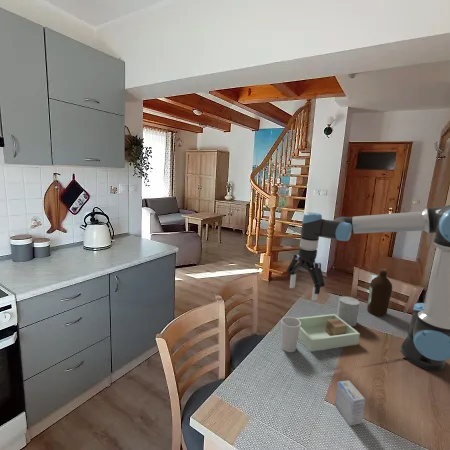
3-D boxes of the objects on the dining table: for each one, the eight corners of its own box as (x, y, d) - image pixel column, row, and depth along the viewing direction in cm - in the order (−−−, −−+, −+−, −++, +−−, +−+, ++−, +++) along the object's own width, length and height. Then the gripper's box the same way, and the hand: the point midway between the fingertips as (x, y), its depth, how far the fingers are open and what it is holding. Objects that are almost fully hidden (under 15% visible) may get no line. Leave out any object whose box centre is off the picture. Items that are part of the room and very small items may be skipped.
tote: (357, 345, 121) (359, 333, 120) (310, 353, 114) (311, 340, 113) (333, 324, 137) (334, 313, 136) (289, 330, 130) (291, 318, 129)
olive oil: (387, 311, 154) (395, 268, 149) (387, 319, 145) (395, 274, 140) (366, 305, 159) (373, 264, 154) (365, 313, 150) (372, 269, 145)
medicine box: (362, 424, 83) (366, 399, 81) (349, 426, 82) (353, 401, 80) (345, 402, 90) (349, 379, 88) (333, 404, 89) (337, 381, 87)
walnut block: (344, 337, 125) (346, 325, 124) (333, 339, 123) (335, 327, 122) (336, 330, 131) (337, 318, 130) (325, 331, 129) (326, 320, 128)
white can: (358, 329, 134) (362, 306, 132) (337, 326, 136) (341, 303, 133) (353, 319, 143) (356, 297, 141) (334, 316, 145) (337, 294, 143)
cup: (299, 345, 119) (302, 319, 117) (296, 355, 112) (299, 329, 110) (281, 339, 122) (283, 314, 120) (276, 349, 115) (279, 323, 113)
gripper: (338, 255, 111) (330, 304, 115) (294, 240, 132) (289, 281, 137) (325, 257, 108) (318, 307, 112) (282, 241, 129) (278, 284, 133)
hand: (302, 293), depth 124 cm, fingers open, 13 cm apart
